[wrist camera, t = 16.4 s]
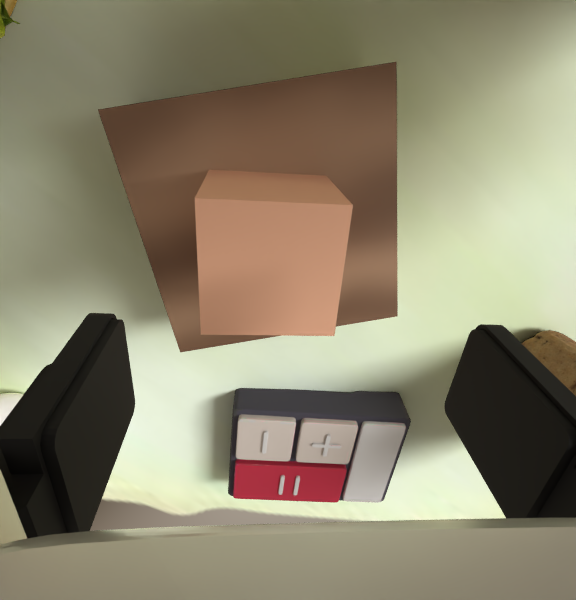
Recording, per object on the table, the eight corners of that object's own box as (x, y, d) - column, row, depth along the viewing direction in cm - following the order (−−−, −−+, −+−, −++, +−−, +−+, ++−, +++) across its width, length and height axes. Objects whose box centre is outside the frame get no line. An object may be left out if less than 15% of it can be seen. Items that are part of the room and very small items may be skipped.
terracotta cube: (209, 169, 20) (194, 198, 14) (326, 175, 20) (352, 205, 15) (212, 277, 22) (200, 334, 17) (314, 280, 23) (334, 335, 18)
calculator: (231, 415, 31) (415, 426, 32) (236, 380, 35) (400, 390, 36) (226, 504, 36) (385, 510, 37) (231, 464, 40) (375, 471, 41)
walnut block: (132, 104, 23) (98, 109, 18) (363, 67, 23) (396, 61, 18) (192, 305, 30) (180, 352, 25) (371, 276, 30) (397, 316, 25)
